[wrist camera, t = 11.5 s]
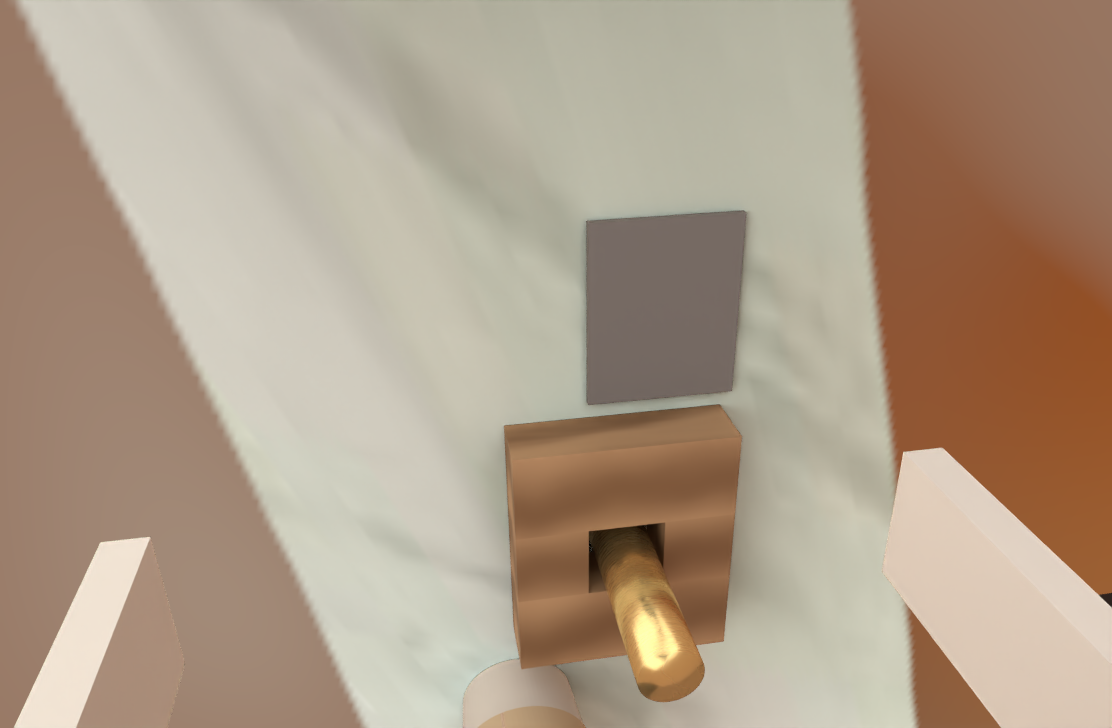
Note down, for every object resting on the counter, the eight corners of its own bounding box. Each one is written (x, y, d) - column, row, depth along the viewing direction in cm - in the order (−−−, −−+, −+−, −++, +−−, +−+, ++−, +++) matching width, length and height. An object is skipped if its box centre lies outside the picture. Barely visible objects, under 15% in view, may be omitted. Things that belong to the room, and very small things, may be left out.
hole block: (503, 425, 47) (512, 460, 44) (719, 404, 49) (741, 436, 46) (513, 626, 54) (521, 669, 51) (704, 601, 55) (723, 641, 52)
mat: (586, 221, 43) (588, 223, 43) (743, 210, 44) (746, 212, 44) (586, 401, 48) (588, 404, 47) (729, 387, 49) (731, 391, 48)
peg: (585, 502, 51) (638, 654, 40) (640, 495, 51) (706, 645, 40) (585, 547, 52) (636, 706, 41) (639, 541, 52) (702, 696, 42)
